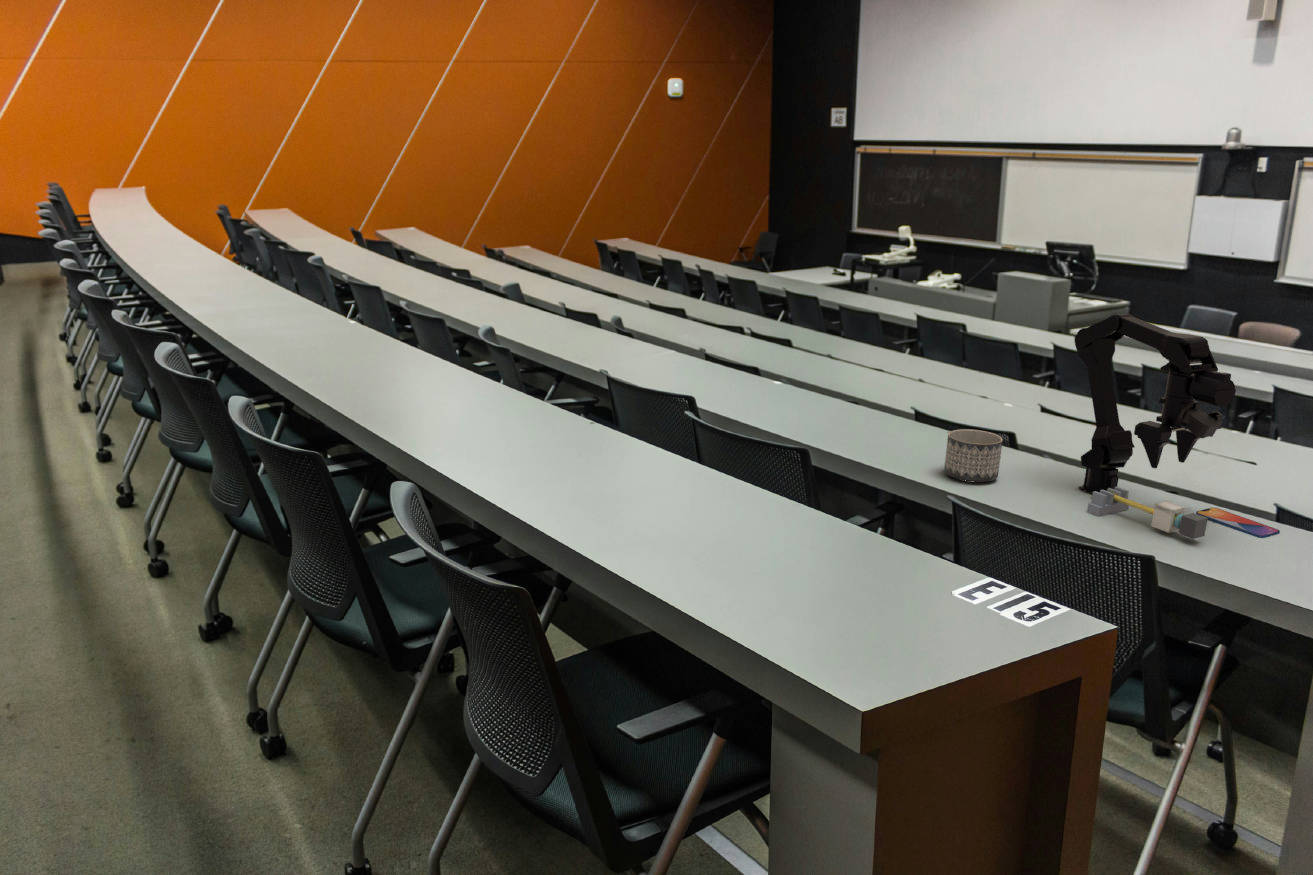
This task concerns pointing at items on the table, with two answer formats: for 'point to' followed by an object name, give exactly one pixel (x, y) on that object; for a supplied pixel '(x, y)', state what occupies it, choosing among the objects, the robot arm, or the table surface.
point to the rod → (1135, 504)
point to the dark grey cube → (1193, 525)
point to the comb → (1107, 501)
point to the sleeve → (1166, 516)
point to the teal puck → (1178, 521)
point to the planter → (973, 455)
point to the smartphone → (1238, 522)
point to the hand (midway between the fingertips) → (1167, 465)
